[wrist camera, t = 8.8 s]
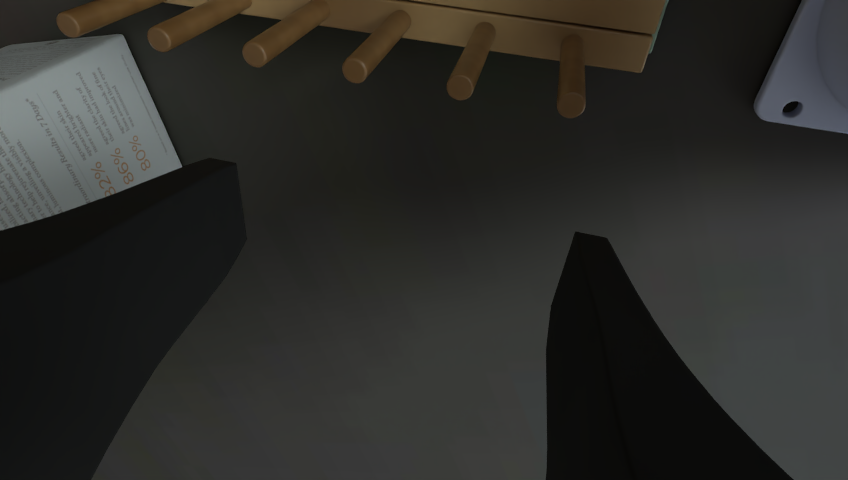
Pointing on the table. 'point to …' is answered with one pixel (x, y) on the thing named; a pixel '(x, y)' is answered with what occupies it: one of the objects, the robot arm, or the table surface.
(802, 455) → the table surface
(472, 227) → the table surface
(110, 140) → the small box
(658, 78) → the table surface
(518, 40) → the dish rack
